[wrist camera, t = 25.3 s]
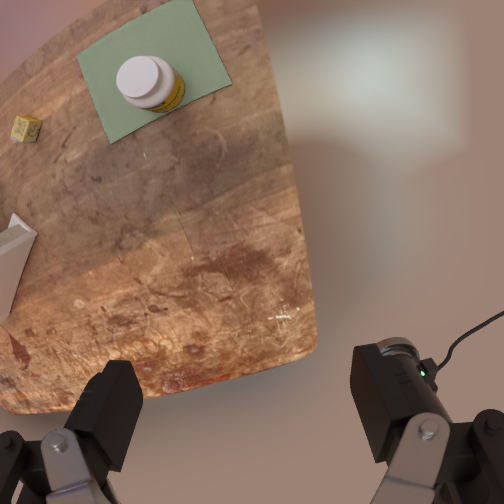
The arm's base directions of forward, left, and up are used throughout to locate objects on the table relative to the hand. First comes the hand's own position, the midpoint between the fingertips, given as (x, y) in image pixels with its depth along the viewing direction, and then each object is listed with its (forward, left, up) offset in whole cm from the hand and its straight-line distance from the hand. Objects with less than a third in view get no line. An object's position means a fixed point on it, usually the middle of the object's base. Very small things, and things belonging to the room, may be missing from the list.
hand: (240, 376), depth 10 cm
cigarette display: (+39, +5, -28) cm, 48 cm away
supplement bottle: (+8, -15, -28) cm, 33 cm away
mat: (+10, -19, -28) cm, 35 cm away
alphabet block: (+28, -15, -28) cm, 43 cm away
